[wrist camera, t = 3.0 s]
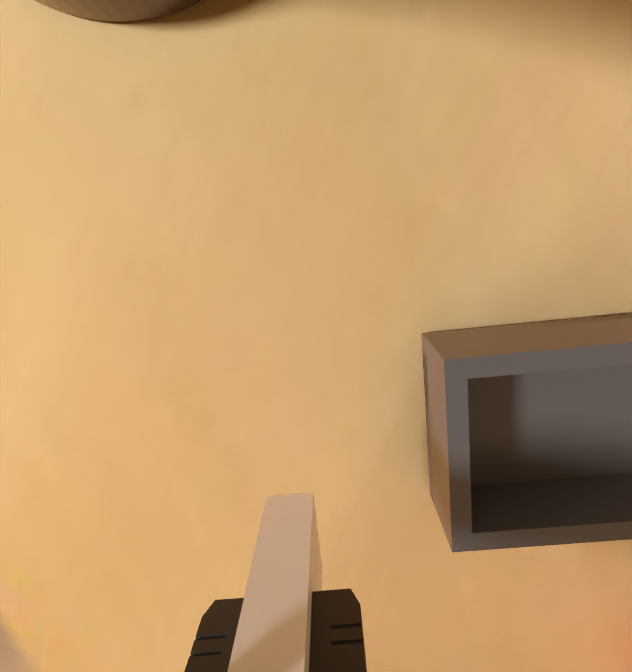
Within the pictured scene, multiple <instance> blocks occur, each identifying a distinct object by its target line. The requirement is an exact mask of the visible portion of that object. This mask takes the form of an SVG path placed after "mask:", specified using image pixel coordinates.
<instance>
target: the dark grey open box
mask: <svg viewBox="0 0 632 672" xmlns="http://www.w3.org/2000/svg"><path fill="white" fill-rule="evenodd" d="M422 349H423V368H424V386H425V405H426V423H427V442H428V460H429V478H430V494H431V497H432V500H433V502H434V505H435V508H436V510H437V513H438V516H439V518H440V521H441V524H442V526H443V529H444V532H445V534H446V537H447V540H448V542H449V545H450V548H451V550H452V552H462V551H476V550H490V549H503V548H517V547H531V546H545V545H558V544H572V543H586V542H599V541H613V540H627V539H632V313H624V314H614V315H604V316H594V317H583V318H573V319H563V320H553V321H542V322H532V323H522V324H511V325H501V326H491V327H481V328H470V329H460V330H450V331H440V332H429V333H422Z"/></svg>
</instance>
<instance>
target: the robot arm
mask: <svg viewBox="0 0 632 672" xmlns="http://www.w3.org/2000/svg"><path fill="white" fill-rule="evenodd" d="M35 1H37V2H39V3H41V4H43V5H46V6H48V7H50V8H53V9H55V10H58V11H61V12H64V13H67V14H70V15H74V16H78V17H82V18H87V19H94V20H101V21H136V20H144V19H150V18H155V17H159V16H163V15H166V14H170V13H173V12H175V11H178V10H181V9H183V8H185V7H188V6H190V5H192V4H194V3H196V2H198V1H200V0H35ZM185 672H367V668H366V657H365V647H364V637H363V627H362V618H361V608H360V603H359V602H358V600H357V598H356V597H355V595H354V593H353V592H352V590H351V589H340V590H326V591H322V562H321V554H320V545H319V537H318V529H317V521H316V512H315V504H314V496H313V492H312V493H300V494H288V495H277V496H267V497H266V502H265V506H264V511H263V515H262V520H261V524H260V529H259V533H258V538H257V542H256V546H255V551H254V555H253V560H252V564H251V569H250V573H249V578H248V582H247V587H246V591H245V596H244V598H237V599H223V600H215V601H214V602H213V604H212V605H211V606H210V607H209V609H208V610H207V611H206V613H205V614H204V615H203V617H202V619H201V622H200V625H199V628H198V631H197V634H196V640H195V641H194V644H193V647H192V650H191V656H190V657H189V659H188V663H187V666H186V669H185Z"/></svg>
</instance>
